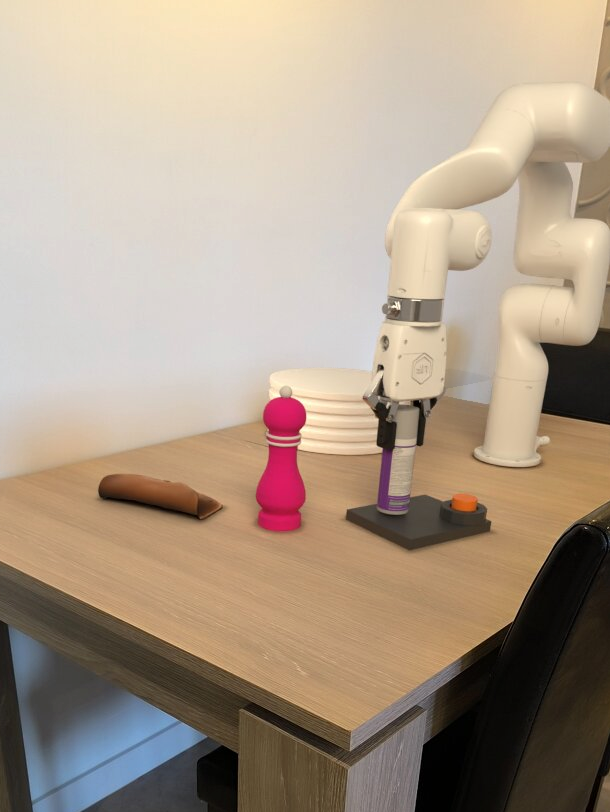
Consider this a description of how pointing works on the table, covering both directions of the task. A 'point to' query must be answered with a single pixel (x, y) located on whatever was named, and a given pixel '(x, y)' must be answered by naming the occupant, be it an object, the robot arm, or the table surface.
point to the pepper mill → (282, 465)
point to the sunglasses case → (158, 493)
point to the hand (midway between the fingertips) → (399, 444)
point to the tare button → (464, 502)
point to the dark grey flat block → (422, 522)
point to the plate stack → (332, 409)
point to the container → (399, 464)
